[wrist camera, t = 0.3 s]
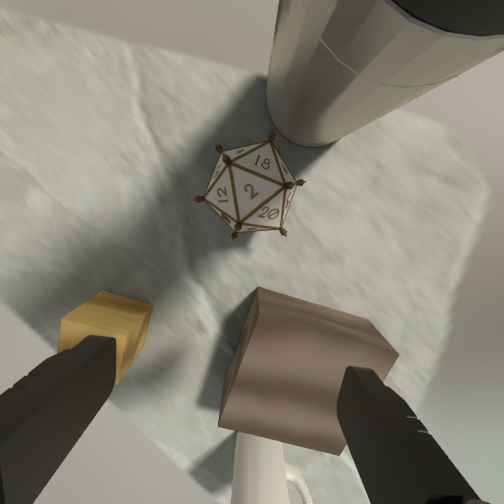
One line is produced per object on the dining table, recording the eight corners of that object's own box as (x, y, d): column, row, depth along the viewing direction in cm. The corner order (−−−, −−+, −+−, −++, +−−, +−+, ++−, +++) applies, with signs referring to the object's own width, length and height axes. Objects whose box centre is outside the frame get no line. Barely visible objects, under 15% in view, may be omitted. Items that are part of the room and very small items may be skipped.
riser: (257, 286, 27) (259, 314, 21) (368, 319, 28) (399, 354, 22) (224, 380, 30) (217, 426, 24) (323, 406, 31) (339, 455, 26)
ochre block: (102, 290, 27) (61, 318, 21) (153, 304, 27) (126, 336, 22) (95, 332, 28) (55, 370, 23) (143, 345, 29) (116, 385, 23)
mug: (228, 447, 34) (216, 584, 22) (243, 413, 32) (238, 542, 20) (293, 463, 34) (314, 603, 23) (310, 431, 33) (343, 564, 21)
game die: (265, 179, 27) (344, 165, 19) (240, 248, 26) (312, 262, 18) (199, 129, 22) (271, 81, 14) (165, 213, 21) (220, 213, 13)
